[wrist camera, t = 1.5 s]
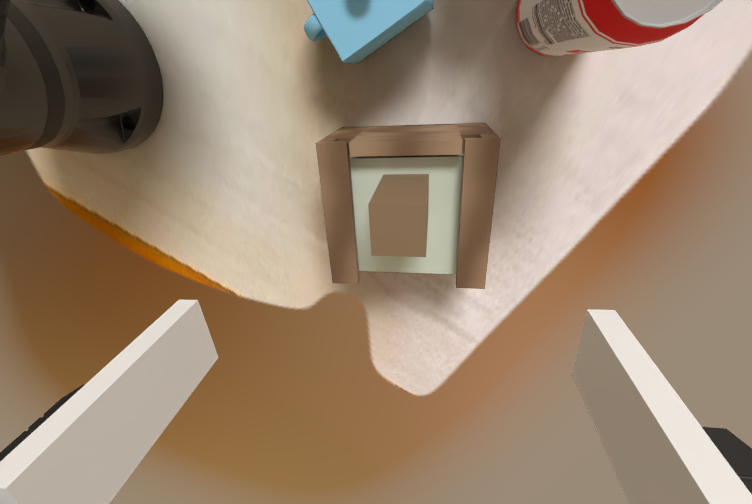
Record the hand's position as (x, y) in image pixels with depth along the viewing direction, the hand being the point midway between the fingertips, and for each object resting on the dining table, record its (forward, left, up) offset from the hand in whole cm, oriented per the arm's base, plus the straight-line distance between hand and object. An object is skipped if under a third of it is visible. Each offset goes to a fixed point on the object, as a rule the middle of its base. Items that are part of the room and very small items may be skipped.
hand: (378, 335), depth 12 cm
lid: (0, -3, -19) cm, 19 cm away
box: (0, -2, -25) cm, 25 cm away
